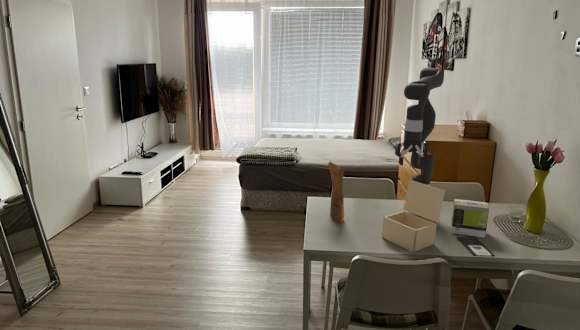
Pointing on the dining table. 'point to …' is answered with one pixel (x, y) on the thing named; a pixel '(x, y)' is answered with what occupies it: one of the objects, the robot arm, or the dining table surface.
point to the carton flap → (424, 200)
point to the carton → (409, 231)
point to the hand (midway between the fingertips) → (410, 164)
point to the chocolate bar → (475, 246)
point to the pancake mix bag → (337, 193)
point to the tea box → (469, 218)
